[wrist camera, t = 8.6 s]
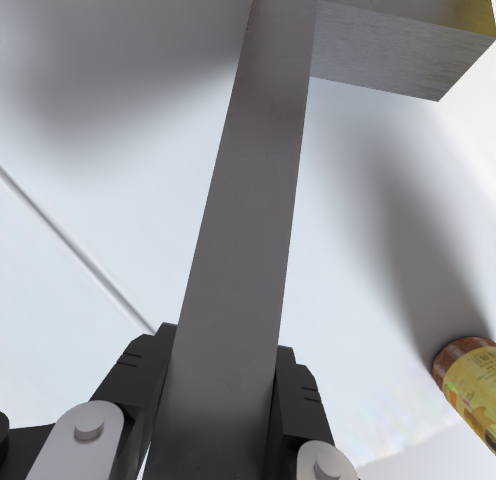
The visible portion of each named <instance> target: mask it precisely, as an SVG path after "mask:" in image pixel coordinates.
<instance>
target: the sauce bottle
mask: <svg viewBox="0 0 496 480" xmlns="http://www.w3.org/2000/svg"><path fill="white" fill-rule="evenodd" d="M432 369H433V370H432V374H433V378H434V380H435V382H436V384H437V386H438V387H439V389H440V390H441V391H442V392H443V393H444V396H445V398H446V399H447V401H448V402H449V403H450V404H451V405H452V407H453V408H454V409H455V410H456V411H457V412H458V413H459V415H460V416H461V417H462V418H463V419H464V420H465V421H466V422H467V424H468V425H469V426H470V427H471V428H472V429H473V430H474V432H475V433H476V434H477V435H478V436H479V437H480V438H481V439H482V441H483V442H484V443H485V444H486V445H487V446H488V447H489V449H490V450H491V451H492V452H493V453H494V454H495V456H496V343H495V342H493V341H491V340H489V339H486V338H482V337H464V338H461V339H458V340H456V341H453V342H451V343H449V344H448V345H447V346H446V347H444V348H443V350H442V351H441V352H440V353H439V354H438V356H437V357H436V358H435V360H434V363H433V367H432Z"/></svg>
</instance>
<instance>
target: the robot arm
mask: <svg viewBox="0 0 496 480" xmlns="http://www.w3.org/2000/svg"><path fill="white" fill-rule="evenodd" d="M177 327H178V325H175V324H170V323H165V322H163V323H162V324H161V326H160V327H159V329H158V331H157V332H156V334H155V336H152V335H147V334H142V335H141V336H139V337H138V338H136V339H134V340H133V341H131V342H130V344H129V345H128V346H127V348H126V349H125V351H124V352H123V355H121V356H120V358H119V359H118V360H117V363H116V364H115V365H114V366H113V367H112V369H111V370H110V372H109V373H108V374H107V376H106V377H105V379H104V380H103V381H102V383H101V384H100V386H99V387H98V388H97V390H96V391H95V393H94V394H93V395H92V397H91V398H90V400H89V401H88V402H85V403H82V404H79V405H77V406H75V407H73V408H71V409H70V410H68V411H67V412H66V413H65V414H63V415H62V416H61V417H60V418H59V420H58V421H57V422H56V423H53V424H49V425H43V426H35V427H25V428H16V429H9V420H8V417H7V416H6V415H5V414H4V413H2V412H0V480H136V479H137V477H138V474H139V471H140V469H141V466H142V463H143V461H144V458H145V455H146V453H147V450H148V447H149V445H150V442H151V439H152V434H153V430H154V426H155V421H156V417H157V413H158V409H159V404H160V400H161V396H162V391H163V387H164V383H165V378H166V374H167V370H168V365H169V361H170V357H171V353H172V348H173V344H174V340H175V335H176V331H177ZM261 480H360V479H359V478H358V477H357V473H356V471H355V469H354V467H353V465H352V464H351V462H350V461H349V459H348V458H347V457H346V456H345V455H344V454H343V453H342V452H341V451H340V450H338V449H337V448H336V447H335V444H334V440H333V437H332V434H331V430H330V427H329V424H328V420H327V417H326V414H325V411H324V407H323V404H322V403H321V397H320V394H319V392H318V387H317V384H316V381H315V378H314V376H313V375H312V374H311V372H310V371H309V370H308V368H307V367H306V366H305V365H300V364H296V361H295V356H294V352H293V349H292V348H291V347H286V346H281V345H278V347H277V355H276V364H275V372H274V381H273V389H272V398H271V406H270V414H269V423H268V431H267V440H266V448H265V457H264V464H263V471H262V479H261Z"/></svg>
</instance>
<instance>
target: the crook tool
mask: <svg viewBox="0 0 496 480" xmlns="http://www.w3.org/2000/svg"><path fill="white" fill-rule="evenodd" d="M495 40H496V24H495V19H494V14H493V8H492V3H491V0H253V3H252V8H251V12H250V16H249V21H248V25H247V29H246V33H245V38H244V42H243V46H242V51H241V55H240V59H239V64H238V68H237V72H236V77H235V81H234V85H233V89H232V94H231V98H230V102H229V107H228V111H227V115H226V120H225V124H224V128H223V133H222V137H221V141H220V146H219V150H218V154H217V158H216V163H215V167H214V171H213V176H212V180H211V184H210V189H209V193H208V197H207V202H206V206H205V210H204V215H203V219H202V223H201V227H200V232H199V236H198V240H197V245H196V249H195V253H194V258H193V262H192V266H191V271H190V275H189V279H188V284H187V288H186V292H185V296H184V301H183V305H182V309H181V314H180V318H179V322H178V327H177V331H176V335H175V340H174V344H173V348H172V353H171V357H170V361H169V365H168V370H167V374H166V378H165V383H164V387H163V391H162V396H161V400H160V404H159V409H158V413H157V417H156V421H155V426H154V430H153V434H152V439H151V443H150V447H149V452H148V456H147V460H146V465H145V469H144V473H143V478H142V480H261V479H262V471H263V464H264V457H265V448H266V440H267V431H268V423H269V414H270V406H271V398H272V389H273V381H274V372H275V364H276V355H277V347H278V338H279V330H280V321H281V313H282V304H283V296H284V288H285V279H286V271H287V262H288V254H289V245H290V237H291V228H292V220H293V211H294V203H295V194H296V186H297V177H298V169H299V161H300V152H301V144H302V135H303V127H304V118H305V110H306V101H307V93H308V84H309V76H312V77H317V78H322V79H327V80H332V81H337V82H342V83H347V84H352V85H357V86H362V87H367V88H372V89H377V90H382V91H387V92H392V93H397V94H402V95H407V96H412V97H417V98H422V99H427V100H432V101H437V102H438V101H439V100H440V99H441V98H442V97H443V96H444V95H445V94H446V93H447V92H448V91H449V90H450V88H451V87H452V86H453V85H454V84H455V83H456V82H457V81H458V80H459V79H460V78H461V77H462V76H463V74H464V73H465V72H466V71H467V70H468V69H469V68H470V67H471V66H472V65H473V64H474V63H475V62H476V61H477V59H478V58H479V57H480V56H481V55H482V54H483V53H484V52H485V51H486V50H487V49H488V48H489V47H490V46H491V44H492V43H493V42H494V41H495Z"/></svg>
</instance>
